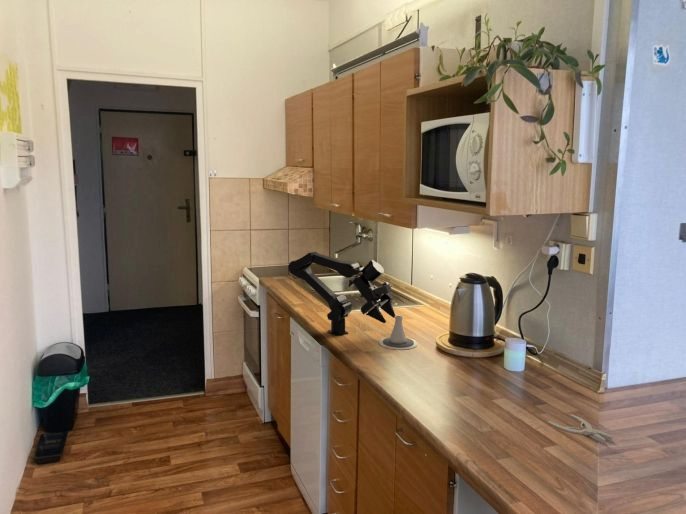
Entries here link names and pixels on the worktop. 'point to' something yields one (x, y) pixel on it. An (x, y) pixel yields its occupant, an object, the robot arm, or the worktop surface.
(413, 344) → the coaster
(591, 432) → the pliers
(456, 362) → the worktop surface
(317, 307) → the worktop surface
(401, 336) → the flask
